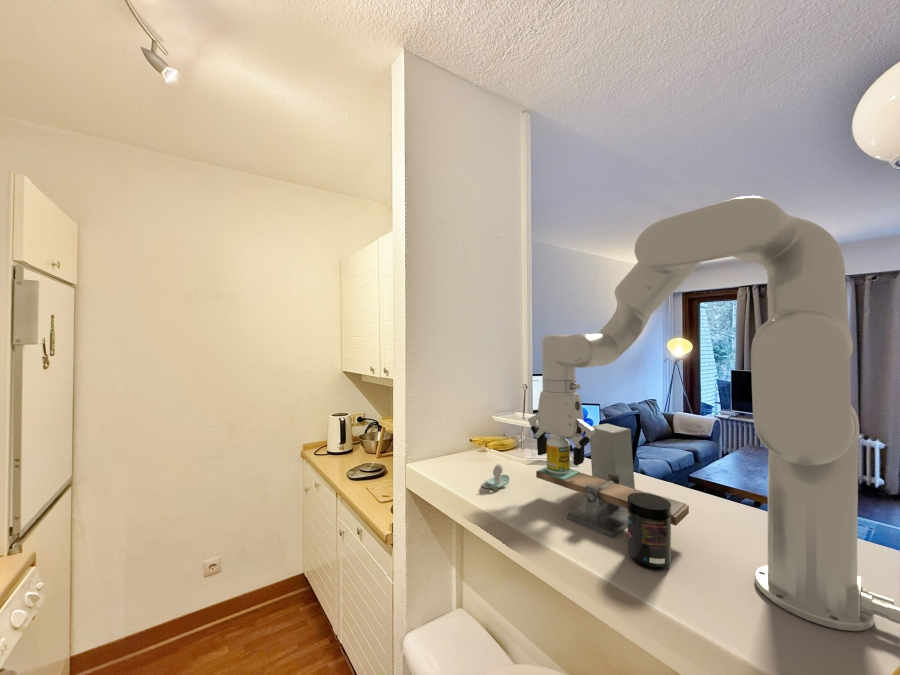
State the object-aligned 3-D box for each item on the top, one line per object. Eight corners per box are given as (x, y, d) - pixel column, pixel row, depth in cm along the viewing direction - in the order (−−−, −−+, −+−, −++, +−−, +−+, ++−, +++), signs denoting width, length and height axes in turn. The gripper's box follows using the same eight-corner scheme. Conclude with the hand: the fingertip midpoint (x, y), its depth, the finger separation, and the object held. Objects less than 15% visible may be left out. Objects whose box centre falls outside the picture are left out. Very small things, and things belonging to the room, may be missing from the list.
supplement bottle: (556, 465, 92) (556, 426, 92) (574, 472, 87) (574, 431, 87) (541, 469, 89) (541, 430, 89) (559, 476, 85) (559, 435, 84)
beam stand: (640, 516, 80) (640, 479, 80) (612, 538, 72) (612, 496, 72) (596, 500, 88) (596, 467, 88) (566, 518, 79) (566, 481, 79)
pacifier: (476, 487, 97) (494, 494, 92) (476, 463, 97) (493, 468, 92) (495, 480, 102) (512, 485, 97) (494, 457, 102) (511, 461, 97)
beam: (690, 513, 71) (690, 502, 71) (674, 528, 66) (674, 517, 66) (554, 470, 94) (554, 462, 94) (534, 479, 88) (534, 470, 88)
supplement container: (656, 548, 68) (656, 492, 68) (680, 572, 61) (680, 509, 61) (620, 549, 68) (620, 492, 68) (640, 573, 61) (640, 510, 61)
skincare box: (635, 492, 92) (635, 429, 92) (613, 497, 90) (613, 432, 89) (609, 480, 100) (609, 421, 100) (588, 484, 97) (588, 424, 97)
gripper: (601, 388, 84) (602, 464, 84) (537, 382, 97) (538, 447, 97) (584, 392, 79) (585, 472, 79) (519, 385, 92) (520, 453, 92)
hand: (559, 458), depth 88 cm, fingers open, 9 cm apart
